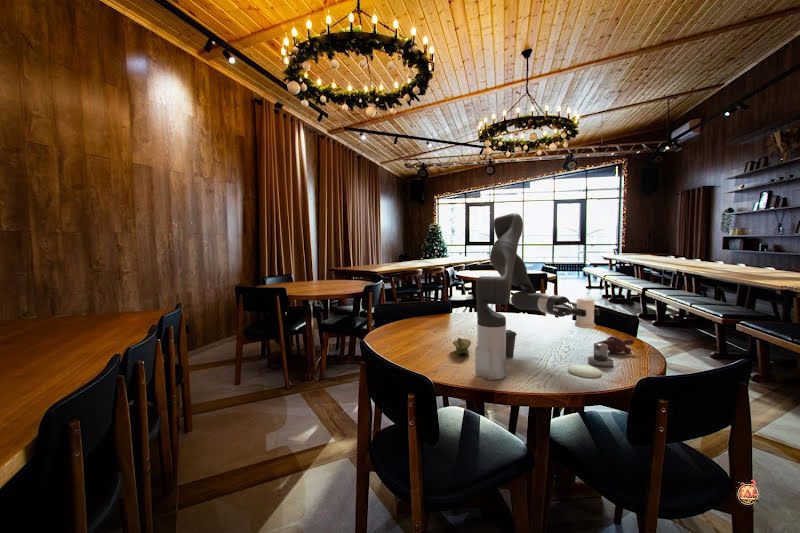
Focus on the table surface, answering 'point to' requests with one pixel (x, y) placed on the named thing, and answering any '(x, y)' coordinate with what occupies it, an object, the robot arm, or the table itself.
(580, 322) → the cream white cylinder
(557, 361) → the table surface
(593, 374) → the coaster
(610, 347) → the brown turtle figurine
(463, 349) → the fruit
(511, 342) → the coffee cup
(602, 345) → the dark grey stepped piece
